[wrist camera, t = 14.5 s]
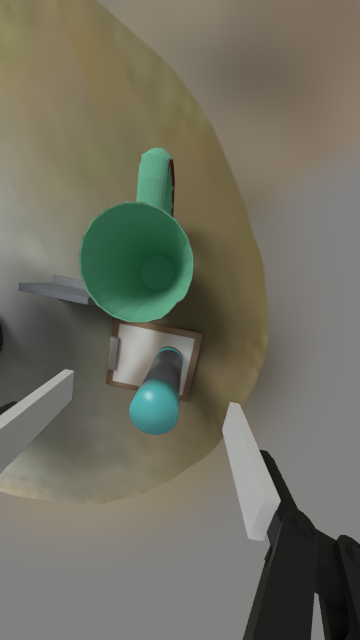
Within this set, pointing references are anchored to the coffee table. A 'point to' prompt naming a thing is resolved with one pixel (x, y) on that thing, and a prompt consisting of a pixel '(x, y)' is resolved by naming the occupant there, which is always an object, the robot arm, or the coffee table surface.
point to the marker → (159, 394)
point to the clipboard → (149, 353)
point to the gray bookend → (60, 290)
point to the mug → (139, 249)
